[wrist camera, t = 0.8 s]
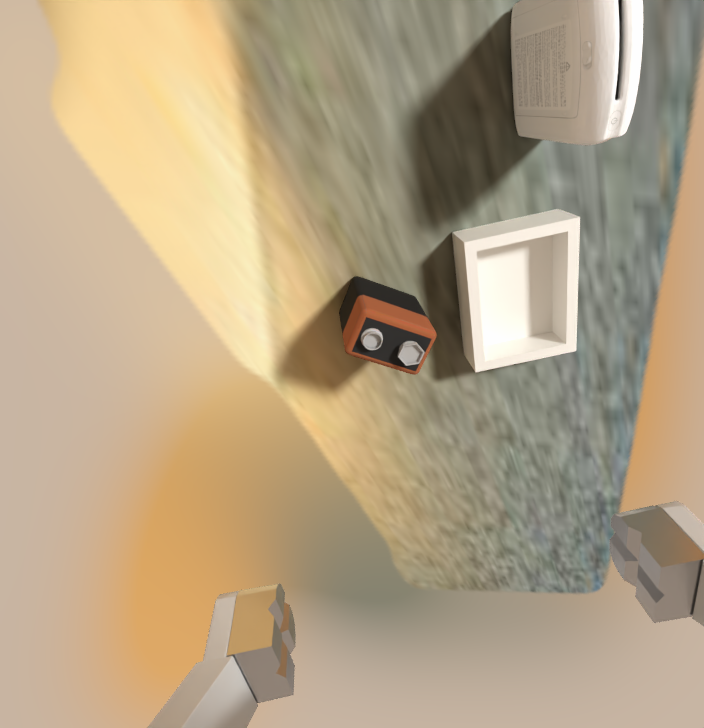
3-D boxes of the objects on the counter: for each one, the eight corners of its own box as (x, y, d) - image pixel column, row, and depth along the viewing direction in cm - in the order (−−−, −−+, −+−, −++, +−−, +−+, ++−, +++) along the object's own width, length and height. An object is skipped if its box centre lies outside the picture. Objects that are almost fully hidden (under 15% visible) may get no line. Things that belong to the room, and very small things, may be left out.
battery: (399, 334, 49) (420, 383, 40) (337, 313, 47) (344, 359, 38) (417, 296, 47) (442, 338, 38) (353, 273, 45) (364, 311, 37)
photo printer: (561, 132, 41) (652, 139, 30) (512, 144, 41) (585, 155, 30) (560, -15, 36) (668, -70, 25) (504, -1, 36) (588, -49, 25)
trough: (451, 232, 44) (464, 242, 41) (558, 208, 44) (580, 217, 40) (463, 354, 50) (475, 372, 47) (557, 334, 50) (576, 350, 47)
